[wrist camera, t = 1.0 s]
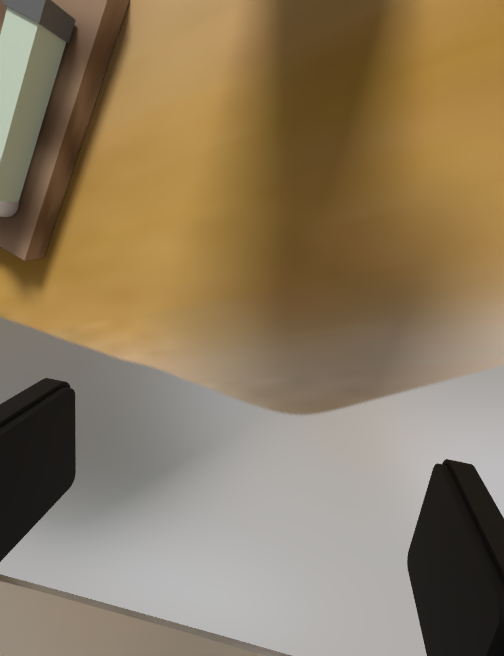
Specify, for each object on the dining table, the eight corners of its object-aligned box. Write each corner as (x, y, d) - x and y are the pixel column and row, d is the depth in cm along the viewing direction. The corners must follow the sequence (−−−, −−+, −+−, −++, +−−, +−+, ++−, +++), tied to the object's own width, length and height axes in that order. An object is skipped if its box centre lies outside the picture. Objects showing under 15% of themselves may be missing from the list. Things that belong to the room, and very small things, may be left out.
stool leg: (14, 223, 34) (-17, 223, 31) (-14, 207, 34) (-48, 206, 31) (75, 19, 29) (46, -4, 26) (42, 1, 29) (9, -24, 26)
